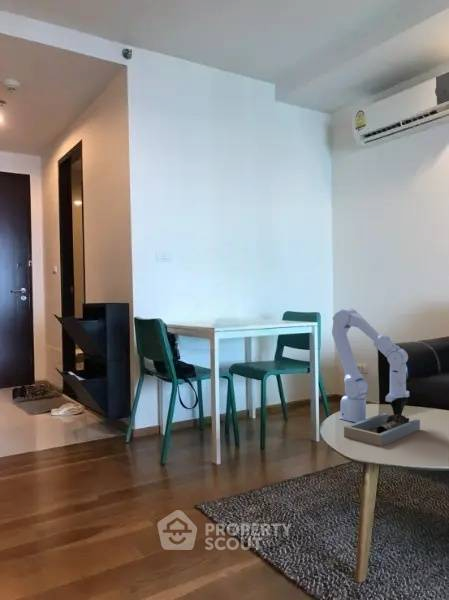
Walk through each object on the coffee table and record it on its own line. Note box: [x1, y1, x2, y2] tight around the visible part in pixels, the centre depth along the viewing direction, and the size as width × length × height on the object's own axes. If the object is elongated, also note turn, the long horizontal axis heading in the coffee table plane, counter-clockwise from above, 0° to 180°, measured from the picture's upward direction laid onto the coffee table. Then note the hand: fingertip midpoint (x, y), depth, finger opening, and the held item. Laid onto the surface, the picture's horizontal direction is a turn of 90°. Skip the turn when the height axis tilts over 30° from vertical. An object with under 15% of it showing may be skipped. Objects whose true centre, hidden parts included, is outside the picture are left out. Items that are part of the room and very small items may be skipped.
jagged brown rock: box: [375, 414, 410, 434], centre depth 169 cm, size 18×7×6 cm, turn 133°
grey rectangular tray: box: [343, 412, 421, 447], centre depth 169 cm, size 14×28×4 cm, turn 133°
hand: (397, 418), depth 176 cm, fingers closed
